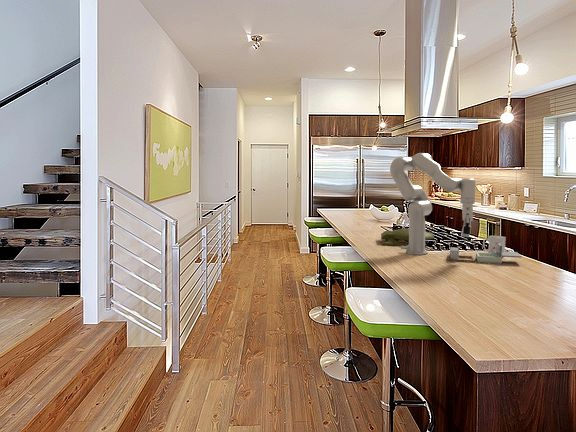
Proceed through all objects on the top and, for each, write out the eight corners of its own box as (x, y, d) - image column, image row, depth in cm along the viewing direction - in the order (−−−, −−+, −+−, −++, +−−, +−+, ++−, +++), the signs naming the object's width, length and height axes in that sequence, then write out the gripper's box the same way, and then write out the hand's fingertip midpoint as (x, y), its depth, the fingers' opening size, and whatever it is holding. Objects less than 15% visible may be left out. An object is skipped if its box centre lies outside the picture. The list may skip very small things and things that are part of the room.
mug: (503, 254, 290) (504, 236, 289) (505, 257, 282) (506, 238, 281) (481, 253, 293) (482, 235, 292) (483, 256, 285) (484, 237, 284)
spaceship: (381, 246, 321) (381, 231, 320) (380, 238, 351) (381, 225, 350) (436, 248, 314) (436, 232, 313) (431, 240, 345) (431, 226, 343)
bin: (477, 262, 268) (478, 256, 267) (475, 258, 279) (475, 252, 279) (501, 263, 264) (501, 257, 264) (498, 259, 276) (498, 253, 275)
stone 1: (449, 258, 278) (450, 248, 277) (450, 257, 282) (450, 247, 281) (457, 259, 276) (457, 248, 276) (457, 258, 280) (458, 247, 279)
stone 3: (461, 235, 272) (463, 225, 271) (461, 234, 276) (463, 224, 275) (469, 237, 271) (471, 226, 270) (468, 236, 275) (470, 226, 274)
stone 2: (450, 260, 272) (451, 250, 272) (450, 259, 276) (450, 249, 276) (458, 261, 271) (458, 250, 271) (457, 259, 275) (458, 249, 275)
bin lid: (497, 256, 265) (497, 246, 264) (494, 252, 276) (494, 242, 275) (521, 257, 261) (522, 247, 261) (517, 253, 273) (518, 243, 272)
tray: (448, 261, 272) (448, 258, 271) (447, 256, 284) (447, 254, 283) (474, 262, 268) (475, 260, 268) (472, 258, 280) (472, 255, 280)
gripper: (476, 202, 262) (474, 235, 264) (473, 199, 278) (472, 231, 280) (461, 201, 264) (460, 235, 266) (459, 199, 280) (458, 231, 282)
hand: (466, 232), depth 273 cm, fingers closed on stone 3, 3 cm apart
